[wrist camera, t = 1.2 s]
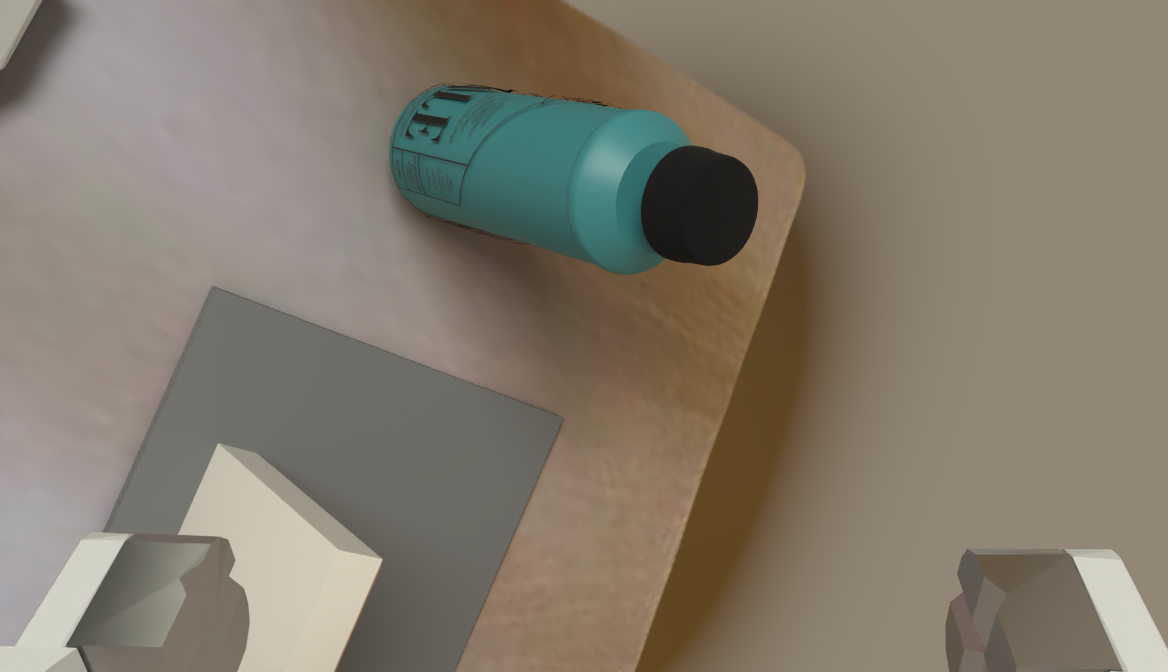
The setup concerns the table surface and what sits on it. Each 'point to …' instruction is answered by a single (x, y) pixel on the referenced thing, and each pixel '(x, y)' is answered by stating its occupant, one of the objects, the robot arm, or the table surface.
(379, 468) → the mat
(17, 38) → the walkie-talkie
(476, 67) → the table surface
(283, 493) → the block
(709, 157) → the beverage bottle
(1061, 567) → the robot arm
